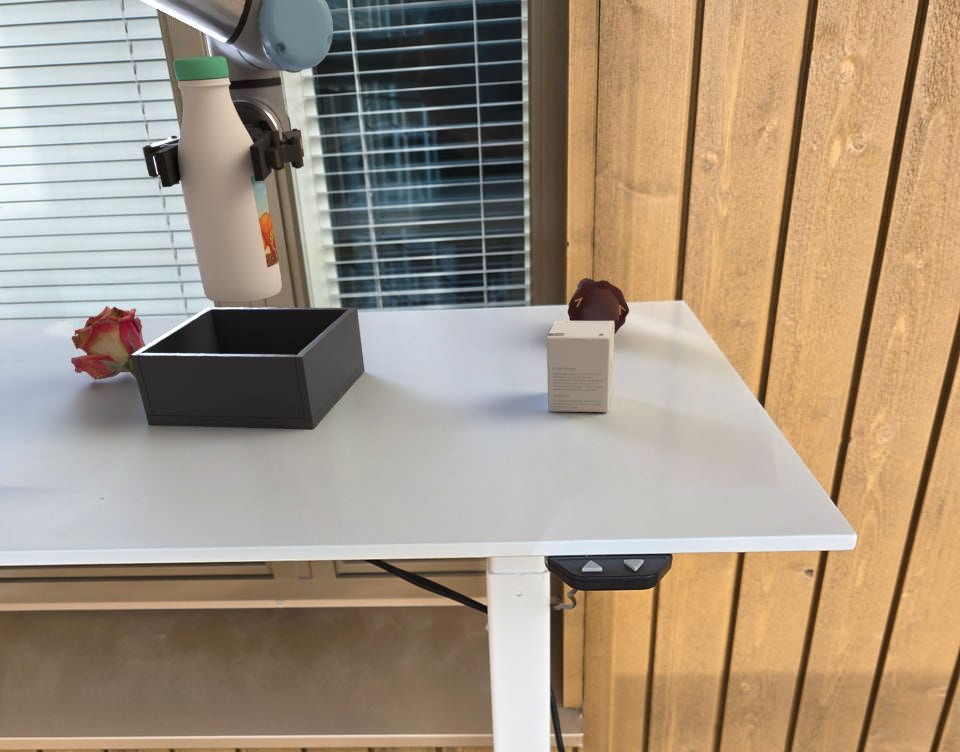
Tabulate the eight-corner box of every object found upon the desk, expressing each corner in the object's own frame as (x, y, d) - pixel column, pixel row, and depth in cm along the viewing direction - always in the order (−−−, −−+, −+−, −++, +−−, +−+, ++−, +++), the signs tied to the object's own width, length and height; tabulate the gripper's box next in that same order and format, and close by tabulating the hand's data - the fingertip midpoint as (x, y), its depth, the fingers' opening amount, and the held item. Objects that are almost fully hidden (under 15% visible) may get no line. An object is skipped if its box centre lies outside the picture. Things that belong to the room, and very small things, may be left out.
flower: (184, 352, 103) (139, 293, 102) (143, 360, 95) (93, 295, 93) (129, 400, 107) (85, 343, 105) (85, 411, 99) (36, 350, 97)
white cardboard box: (613, 393, 91) (616, 319, 87) (608, 414, 86) (611, 337, 82) (554, 391, 92) (554, 318, 88) (546, 412, 87) (545, 336, 83)
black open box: (148, 424, 89) (129, 355, 85) (220, 369, 103) (207, 307, 99) (313, 429, 86) (302, 357, 82) (364, 371, 100) (357, 307, 96)
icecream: (655, 294, 98) (614, 277, 111) (592, 282, 96) (558, 266, 109) (638, 358, 101) (600, 334, 114) (577, 347, 99) (545, 325, 112)
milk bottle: (258, 306, 85) (212, 57, 73) (190, 303, 87) (134, 61, 76) (297, 286, 91) (260, 53, 79) (232, 284, 93) (187, 56, 82)
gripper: (343, 173, 99) (331, 206, 81) (160, 185, 99) (105, 221, 80) (333, 95, 95) (319, 110, 76) (142, 106, 94) (79, 125, 75)
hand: (210, 166), depth 78 cm, fingers closed on milk bottle, 7 cm apart
